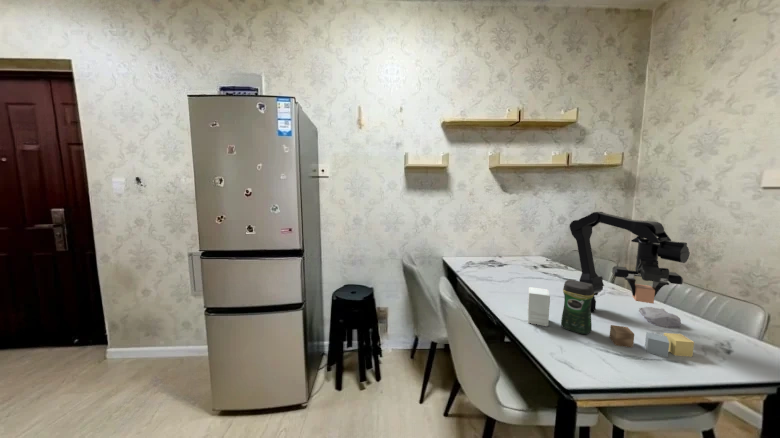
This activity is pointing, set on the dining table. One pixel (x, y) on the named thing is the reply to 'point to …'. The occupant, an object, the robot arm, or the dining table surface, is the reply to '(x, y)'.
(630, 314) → the dining table surface
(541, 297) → the supplement box
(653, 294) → the terracotta cube
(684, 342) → the ochre cube
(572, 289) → the coffee jar
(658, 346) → the slate cube
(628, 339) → the walnut cube
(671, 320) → the stone block
